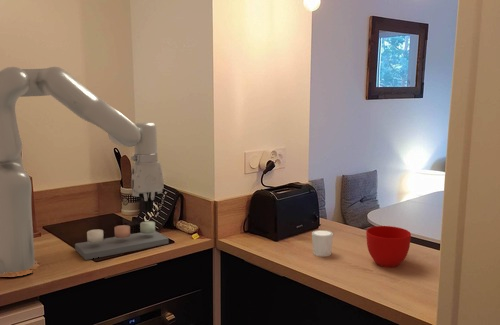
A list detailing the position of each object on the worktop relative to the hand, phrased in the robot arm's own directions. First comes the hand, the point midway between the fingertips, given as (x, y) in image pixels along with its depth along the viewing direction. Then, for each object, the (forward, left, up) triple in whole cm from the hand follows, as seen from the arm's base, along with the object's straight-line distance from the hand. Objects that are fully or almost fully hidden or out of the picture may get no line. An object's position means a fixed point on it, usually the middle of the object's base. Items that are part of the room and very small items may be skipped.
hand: (148, 211), depth 158 cm
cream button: (-18, 0, -7) cm, 20 cm away
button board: (-9, 0, -11) cm, 15 cm away
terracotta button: (-9, 0, -7) cm, 12 cm away
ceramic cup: (+54, -60, -11) cm, 81 cm away
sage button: (0, 0, -7) cm, 7 cm away
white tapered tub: (+42, -43, -11) cm, 61 cm away
